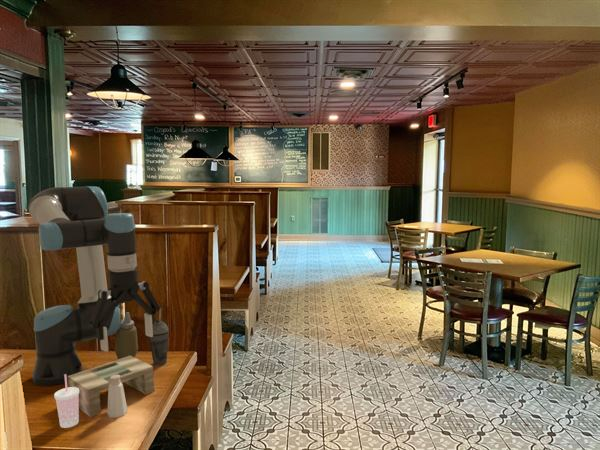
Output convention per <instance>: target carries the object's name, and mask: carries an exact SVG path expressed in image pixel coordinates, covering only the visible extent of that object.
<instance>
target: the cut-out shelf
mask: <svg viewBox="0 0 600 450" xmlns="http://www.w3.org/2000/svg"><path fill="white" fill-rule="evenodd" d="M112 375H120V382H121V383H122V384H123V383H125V384H126V385H127V386H130V387H131V388H133V387H134V389H135V390H137V391H139V392H140V391H141V393H143V394H144V395H148V394H151V393H153V392H155V380H154V379H155V378H154V365H151V364H149V363H147V362H145V361H144V360H143V361H142V360H140V359H138V358H137V357H135V358H134V357H132V356H127V357H124V358H121V359H118V358H117V359H116V360H113V361H109V362H106V363H104V364H101V365H97V366H94V367H92V368H91V367H90V368H88V369H85V370H83V371H82V372H79V373H76V374H73V375H70V376H68V382H67V387H77V388H79V394H78V399H79V411H82V412H83V413H84V414H85V415H87V416H88V417H90V418H91V417H94V416H96V414H97V415H99V414H101V413H102V411H101V408H102V407H101V398H100V397H101V395H100V392H101V391H104V390H106V389H108V388H109V385H110V384H111V383H110V377H111V376H112ZM98 413H99V414H98Z"/></svg>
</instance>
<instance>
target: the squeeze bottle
mask: <svg viewBox="0 0 600 450" xmlns="http://www.w3.org/2000/svg"><path fill="white" fill-rule="evenodd" d="M137 331H138V330H137V327H136V326H135V322H134V320H132V319H131V315H130V312H129V311H127V312H125V314H124V317H123V320H120V325H119V328H118V331H117V332H116V339H115V346H114V351H115V354H116V358H117V360H118V359H121V358H124V357H127V356H132V357H134V358H136V355H137V354H138V353H137V352H138V351H139V345H138V344H139V343H138V332H137Z"/></svg>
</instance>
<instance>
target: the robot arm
mask: <svg viewBox="0 0 600 450" xmlns="http://www.w3.org/2000/svg"><path fill="white" fill-rule="evenodd" d="M108 209H109V206H108V201H107V198H106V195H105V193H104V190H102V188H100V187H99V186H93V185H92V186H90V185H89V186H88V185H85V186H63V187H60V186H59V187H51V188H46V189H44V190H41V191H40V192H38V193H36V194H35V195H34V196H33V197H32V198H31V199H30V200H29V204H28V214H29V215H30V216H31V218H32V220H33V221H35V222H36V223H39V226H38V242H39V245H40V248H41V250H43V251H59V250H67V249H74V248H75V250H76V259H77V267H78V268H77V269H78V277H79V285H80V296H81V297H80V298H79V300H78V301H77V307H76V308H75V307H74V308H73V307H72V305H71V304H63V305H61V304H60V305H55V306H52V307H48V308H46V309H44V310H41V311H39V312H38V313H36V315H35V316H34V318H33V331H34V339H35V351H36V360H35V363H34V368H33V372H32V382H33V384H35V385H38V386H42V387H43V386H44V387H45V386H56V385H61V384H65V376H64V374H66V377H67V383H68V376H70V375H73V374H76V373H79V372H82V371H84V368H83V363H82V362H81V359H80V357H79V354H78V352H77V351H76V343H80V342H87V341H89V340H90V341H91V340H95V339H97V340H98V341H99V345H100V350H101V351H103V352H105V353H107V352H109V340H108V336H113V335H115V334H117V331H118V328H119V327H120V322H121V308H120V304H125V303H127V302H129V303H130V302H132V301H134V302H135V303H136V304H137V305H139V306H140V307H141V308H142V309H143V310H144V311H145V312H146V313H143V315H144V316H143V317H144V329H145V331H144V332H145V336H147V337H148V338H149V337H153V327H152V325H153V324H154V322H155V315H156V314H157V312H158V311H160V309H161V307H160V304H159V303H158V302H157V300H156V298H155V296H154V295H153V293H152V291H151V290H150V286H149V282H148V281H145V280H141V281H140V282H139V283H138V281H139V276H138V275H139V274H138V269H137V268H136V267H137V266H138V262H137V260H138V259H137V258H138V257H137V245H136V244H137V243H136V241H137V240H136V223H135V219H134V214H133V213H132V212H131V213H130V212H117V213H116V212H115V213H109V210H108ZM105 245H106V254H107V269H108V270H109V271H108V282H107V275H106V274H107V273H106V267H105V259H104V258H105V257H104V248H103V246H105ZM107 283H109V289H108V284H107ZM139 290H141V292H142V294H143V296H144V297H145V298H146V300H147V302H148V303H147V302H146V301H145V300H144V299H143V298H142V297H141V296H140V295H139V294H138V292H139Z"/></svg>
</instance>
